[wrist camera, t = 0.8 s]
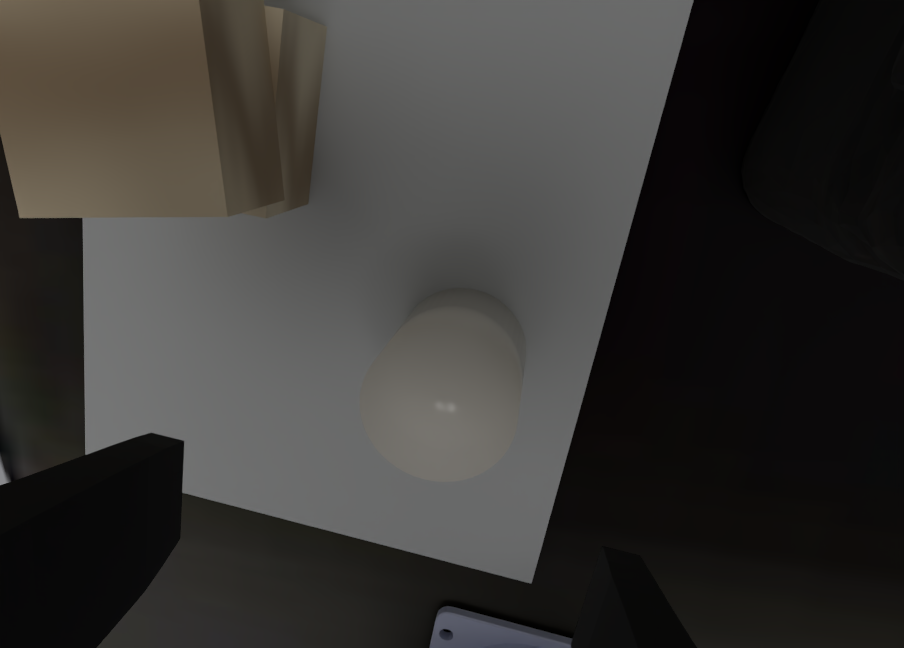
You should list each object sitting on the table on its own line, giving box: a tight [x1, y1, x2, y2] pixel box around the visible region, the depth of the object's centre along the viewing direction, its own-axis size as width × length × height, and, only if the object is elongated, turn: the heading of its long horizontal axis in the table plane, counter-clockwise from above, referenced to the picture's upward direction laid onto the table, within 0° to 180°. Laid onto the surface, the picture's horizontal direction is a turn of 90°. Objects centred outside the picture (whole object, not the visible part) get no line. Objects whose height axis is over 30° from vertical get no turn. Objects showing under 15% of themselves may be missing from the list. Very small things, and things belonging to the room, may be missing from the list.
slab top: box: [0, 0, 285, 218], centre depth 14 cm, size 5×5×3 cm
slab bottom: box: [243, 5, 327, 218], centre depth 17 cm, size 5×5×3 cm
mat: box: [83, 0, 693, 583], centre depth 20 cm, size 20×17×1 cm
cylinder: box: [359, 288, 526, 482], centre depth 18 cm, size 4×4×4 cm
